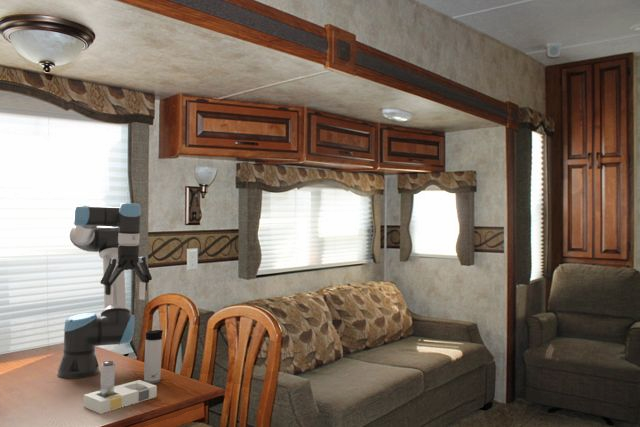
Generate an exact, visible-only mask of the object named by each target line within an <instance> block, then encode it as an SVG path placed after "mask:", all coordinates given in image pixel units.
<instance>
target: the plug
mask: <svg viewBox="0 0 640 427" xmlns="http://www.w3.org/2000/svg"><path fill="white" fill-rule="evenodd" d="M100 366H101V367H100V387H99V388H100V390H99V391H100V396H101V397H103V398H107V397H109V396H113V395H114V387H115V382H116V381H115V380H116V376H115V374H116V364H115V363H114V361H112V360H107V361H103V363H102V364H101V365H100Z"/></svg>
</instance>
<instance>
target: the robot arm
mask: <svg viewBox="0 0 640 427" xmlns="http://www.w3.org/2000/svg"><path fill="white" fill-rule="evenodd" d="M141 211H142V208H141V204H139V203H133V202H132V203H131V202H122V203H120V205H119V207H117V206H94V205H93V206H92V205H91V206H90V205H76V206H75V207H74V209H73V225H74V226H73V227H72V228H71V230H70V232H69V239H70V242H71V244H73V246H75V247H76V248H78V249H80V250H82V251H86V252H89V253H90V252H91V253H94V252H95V253H98V256H99V258H101V259H102V266H103V268H102V269H103V270H102V271H103V276H102V278H101V280H100V282H99V283H100V284H101V285H103V298H104V300H103V302H104V309H103V310H102V311H101V312H100V316H98V315H97V313H95V312H83V313H78V314H75V315H72V316H69V317H67V318H66V319H65V320H64V328H63V332H64V334H63V353H62V357H61V360H60V363H59V365H58V368H57V376H58V377H60V378H64V379H82V378H89V377H92V376H95V375H97V374H98V373H99V372H100V365H99V362H98V359H97V355H96V347H98V346H99V347H101V346H114V345H126V344H129V343H130V342H132V340H133V337H134V333H135V332H134V331H135V326H136V325H135V324H136V316H135V315H134V314H131V310H130V309H129V308H128V307H127V299H126V279H125V275H126V274H125V271H128V270H133V271H134V273H135V274H136V275H137V277H138V278H139V279H140V281H139V287H138V288H139V289H138V290H139V291H138V299H139V300H143V301H145V300H146V291H147V290H148V283H149V282H150V281H152V280H153V277H152V274H151V272H150V270H149V267H148V264H147V261H146V257H145V256H142V255H141V256H139V255H140V246H139V244H140V236H141V235H140V234H141V233H140V232H141V230H140V229H141V216H142V215H141V214H142V212H141ZM138 263H139V265H140V266H139V265H138Z"/></svg>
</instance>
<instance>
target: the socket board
mask: <svg viewBox="0 0 640 427" xmlns="http://www.w3.org/2000/svg"><path fill="white" fill-rule="evenodd" d="M157 388H158V386H157V385H156V384H154V383H153V384H150V383H147V382H144V380H142V379H138V380H134V381H131V382H126V383H122V384H119V385H114V395H113V396H109V397H107V398H103V397H101V396H100V390H96V391H93V392H89V393H85V394H83V408H86V409H88V410H91V411H93V412H95V413H97V414H101V415H102V414H105V413H104V412H106V413H108V411H109V412H111V410H112V411H115V410H118V408H119V409H121V407H122V408H125V407H127V406H131V404H132V405H135V404H138V403H141V402H144V401H147V400H151V399H154V398H157V392H158V391H157V390H158V389H157ZM124 406H125V407H124Z"/></svg>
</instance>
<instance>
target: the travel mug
mask: <svg viewBox="0 0 640 427" xmlns="http://www.w3.org/2000/svg"><path fill="white" fill-rule="evenodd" d="M163 333H164V329H163V330H161V329H156V330H149V331H148V332H145V339H144V340H145V342H144V363H143V364H144V366H143V381H144V382H147V383H150V384H153V385H154V384H158V383H160V382H161V379H162V378H161V377H162V376H161V375H162V372H161V371H162V354H163V352H162V350H163V349H162V348H163Z"/></svg>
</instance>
